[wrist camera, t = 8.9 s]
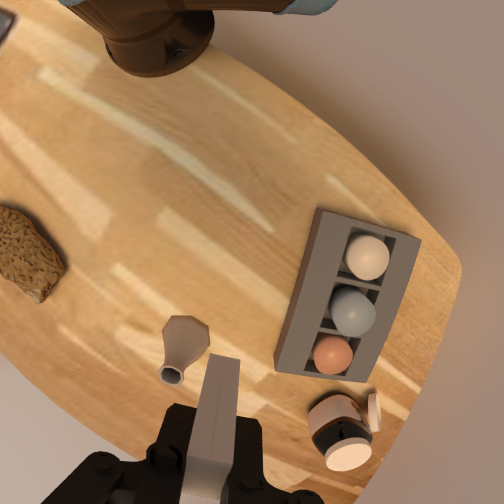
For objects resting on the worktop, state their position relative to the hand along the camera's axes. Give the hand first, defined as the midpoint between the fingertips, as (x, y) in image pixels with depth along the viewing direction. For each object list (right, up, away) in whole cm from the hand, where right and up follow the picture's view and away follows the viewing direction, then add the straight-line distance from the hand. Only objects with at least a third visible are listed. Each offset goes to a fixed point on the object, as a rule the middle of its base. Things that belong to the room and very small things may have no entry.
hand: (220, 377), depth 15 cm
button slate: (+14, -1, +25) cm, 28 cm away
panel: (+14, 0, +27) cm, 31 cm away
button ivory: (+16, +6, +25) cm, 30 cm away
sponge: (-36, +8, +26) cm, 45 cm away
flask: (-8, -6, +29) cm, 31 cm away
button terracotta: (+12, -7, +28) cm, 31 cm away
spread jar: (+17, -20, +32) cm, 42 cm away
